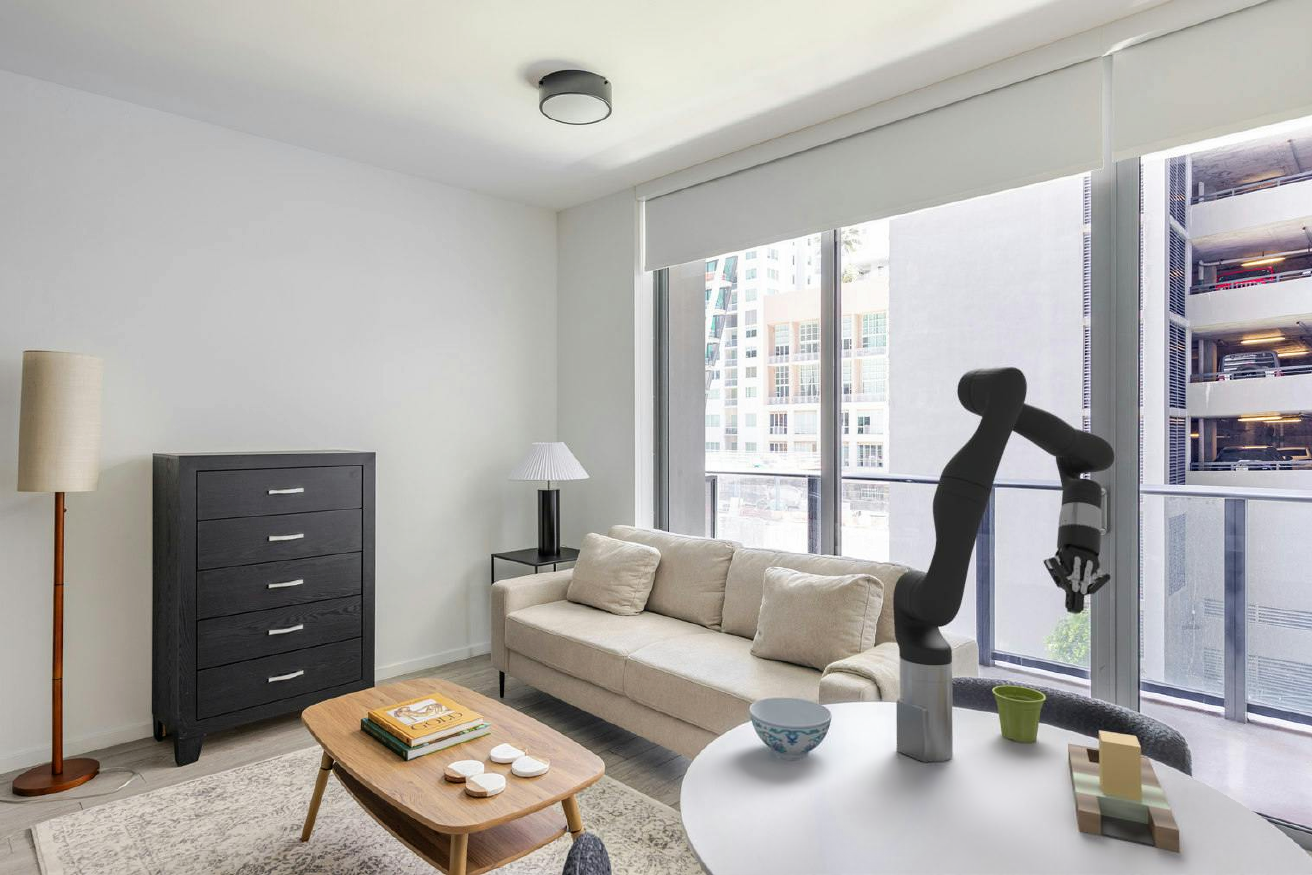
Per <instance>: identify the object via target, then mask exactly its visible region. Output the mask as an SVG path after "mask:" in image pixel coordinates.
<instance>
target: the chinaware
mask: <svg viewBox="0 0 1312 875" xmlns="http://www.w3.org/2000/svg"><path fill="white" fill-rule="evenodd" d="M749 716H750V720H751V723H752V726H753V728H754V731H755V733H756V734H757V736H758V737H759V738H760V740H761V741H762V742H763V744H765V745H766V746H767V747H768V748H770V750H771V753H772V754H773V755H774V757H776V758H779V759H783V760H786V761H787V760H788V761H800V759H801V760H804V759H806V758H808V757H809V753H810V752H811V751H813V750H814V749H815V748H817V747H818V746H819V745H821V743H822V742H823V740H824V739H825V737H826V736H827V734H828V731H829V728H830V727H831V726H830V725H831V722H832V712H831V710H830V709H829V708H828V707H826V706H825V705H823V704H821V703H818V702H815V701H812V700H808V699H803V698H796V697H795V698H794V697H787V696H786V697H784V696H783V697H782V696H781V697H767V698H763V699H759V700H756V701H755V702H753V703H752V704H750V706H749ZM805 757H806V758H805Z"/></svg>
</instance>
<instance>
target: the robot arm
mask: <svg viewBox="0 0 1312 875" xmlns="http://www.w3.org/2000/svg"><path fill="white" fill-rule="evenodd" d="M1027 389H1028V383H1027V379H1026V376H1025V374H1024V372H1023V371H1022V370H1021V369H1020V368H1018V367H1014V366H997V367H996V366H994V367H980V368H974V369H971V370H969V371H967V372H965V373H964V374H963V375H962V377H960V379H959V381H958V384H957V391H956V392H957V393H956V394H957V397H958V401H959V403H960V404H961V405H962V407H963V408H964V409H965V410H966V411H967V412H968V411H969V413H971V414H975V415H977V416H979V417H981V419H980V422H979V425H978V426H977V429H976V430H975V432H974V433H973V434H972V436H971V437H970V439H969V440H968V441H967V442H966V443H965V444H964V445H963V446H962V447H961V448H960V449H959V450H958V451H957V452H956V453H955V454H954V455H953V456H952V457H951V459H950V460H949V461H948V462H947V463H946V465H945V467H944V468H943V469H942V472H941V473H940V474H941V475H940V477H939V480H938V483H937V486H936V490H935V493H934V495H933V501H932V517H933V523H934V530H935V548H934V551H933V555H932V558H931V561H930V565H929V567H928V570H927V572H926V571H922V570H914V569H912V570H908V571H906V572H904V573H903V574H901V576H899V578H898V579H897V581H896V582H895V586H894V590H893V597H892V599H893V600H892V602H893V605H892V606H893V607H892V609H893V626H894V636H895V640H896V643H897V646H898V650H899V652H898V653H899V698H898V699H897V700H896V751H897V752H899V753H901V754H903V755H906V756H907V757H911V758H913V759H915V760H917V761H919V762H922V763H927V762H943V761H944V762H946V761H948V760H950V759H952V758H953V754H954V753H953V751H954V750H953V748H954V747H953V746H954V744H953V743H954V742H953V740H954V738H953V736H954V735H953V649H952V646H951V645H950V643H949V642H948V641H947V640H946V639H945V637H944V636H943V634H942V632H941V630H940V627H944V626H947V625H948V624H950V623H951V622H952V621H953V620H955V618H956V616H957V615H958V613H959V610H960V609H961V606H962V602H963V598H964V593H965V589H966V588H965V587H966V581H967V576H968V573H969V572H968V571H969V567H970V562H971V558H972V554H973V550H974V547H975V544H976V541H977V538H978V537H977V536H978V534H979V529H980V526H981V524H982V519H983V518H984V515H985V512H986V509H987V507H988V506H987V505H988V503H989V500H990V497H991V493H992V489H993V486H994V481H995V478H996V476H997V472H998V470H999V467H1000V464H1001V460H1002V458H1003V454H1004V452H1005V449H1006V447H1007V445H1008V441H1009V439H1010V437H1011V434H1012V432H1014V433H1016V434H1018V435H1019V436H1021V437H1022V438H1025V439H1027V440H1028V441H1030V442H1031V443H1032V444H1034V445H1036V446H1037V447H1039V448H1040V449H1042V451H1044V452H1046V453H1048V454H1049V455H1051V456H1053V457H1055V464H1056V467H1057V470H1058V474H1059V478H1060V484H1061V487H1062V494H1061V495H1062V496H1061V506H1060V512H1059V516H1058V525H1057V526H1058V530H1057V542H1056V548H1057V551H1056V552H1055V556H1053V557H1050V558H1045V559H1044V560H1043V564H1044V566H1045V568H1046V569H1047V571H1048V573H1049V574H1050V577H1051V578H1052V580H1053V582H1054V584H1055V585H1056V587H1057V588H1059V589H1060V588H1061V589H1063V590H1064V592H1065V602H1064V604H1065V605H1064V606H1065V609H1066V611H1067V612H1068V613H1070V614H1074V615H1078V614H1081V612H1083V611H1084V608H1085V607H1084V606H1085V596H1089V595H1093V594H1096V593H1097V592H1098V591H1099V590H1100V589H1101V588H1102V587H1103V586H1105V584H1107V583H1109V581H1110V580H1111V575H1110V574H1109V573H1104V572H1105V571H1103V570H1102V569H1101V568H1100V566H1101V563H1100V561H1099V555H1100V552H1101V543H1102V521H1103V520H1102V496H1103V491H1102V486H1101V485H1100V483H1099V482H1097V481H1095V480H1091V479H1088V478H1081V475H1082V474H1091V473H1097V472H1098V473H1099V472H1102V471H1106V470H1107V469H1109V468H1110V467H1112V465H1113V464H1114V461H1115V451H1114V449H1113V447H1112V445H1111V444H1110V443H1109V442H1108V441H1107V440H1106V439H1105V438H1103V437H1101V436H1100V435H1097V434H1094V433H1091V432H1089V431H1085V430H1082V429H1079V428H1075V427H1073V426H1072V425H1071V424H1069V423H1068V422H1067V421H1065V420H1064V419H1063V418H1061V417H1059V416H1057V415H1056V414H1054V413H1052V412H1050V411H1048V410H1044V409H1042V408H1039V407H1036V406H1034V405H1032V404H1028V403H1025V402H1026V397H1027ZM1091 577H1092V581H1091Z"/></svg>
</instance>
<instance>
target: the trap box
mask: <svg viewBox="0 0 1312 875" xmlns="http://www.w3.org/2000/svg"><path fill="white" fill-rule="evenodd" d="M1067 748H1068V750H1067V751H1068V757H1067V758H1068V765H1069V772H1070V778H1071V780H1070V781H1071V786H1072V793H1073V798H1074V800H1073V801H1074V807H1075V813H1076V819H1077V820H1076V821H1077V826H1078V832H1084V833H1089V834H1093V835H1098V836H1103V837H1108V838H1113V839H1117V840H1122V841H1125V842H1126V841H1127V842H1131V843H1135V844H1140V845H1145V846H1149V847H1154V848H1158V849H1163V850H1168V851H1172V852H1176V853H1177V852H1178V853H1180V851H1181V850H1180V848H1181V846H1180V829H1179V826H1178V824H1177V821H1176V820H1175V817H1174V815H1173V812H1172V810H1171V808H1170V806H1169V803H1168V801H1167V798H1166V796H1165V794H1164V792H1163V788H1162V787H1161V784H1160V782H1159V780H1158V777H1157V775H1156V772H1155V770H1154V767H1153V766H1152V765H1153V764H1151V760H1150V758H1149V757H1148V756H1146V755H1141V783H1142V801H1139V800H1134V799H1129V798H1123V797H1118V796H1113V795H1107V794H1103V792H1102V788H1101V784H1100V774H1099V747H1098V748H1097V747H1091V746H1085V745H1079V744H1075V743H1074V744H1073V743H1068V744H1067Z"/></svg>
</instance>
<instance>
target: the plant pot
mask: <svg viewBox="0 0 1312 875" xmlns="http://www.w3.org/2000/svg"><path fill="white" fill-rule="evenodd" d="M991 692H992V694H993V695H994V698H995V701H996V704H997V710H998V711H997V712H998V717H999V718H998V719H999V724H1000V731H1001V736H1002V737H1004V738H1006V739H1007V740H1014V741H1016V742H1018V743H1022V744H1023V743H1026V744H1031V743H1034V742H1035V741H1036V740H1037V738H1038V737H1037V736H1038V731H1039V723H1040V717H1041V711H1042V707H1044V702H1045V701H1046V699H1047V696H1046V695H1045V694H1044V693H1043V692H1041V691H1039V690H1036V689H1032V688H1028V687H1024V686H1019V685H1018V686H1017V685H997V686H995V687H993V688H992V690H991Z"/></svg>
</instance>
